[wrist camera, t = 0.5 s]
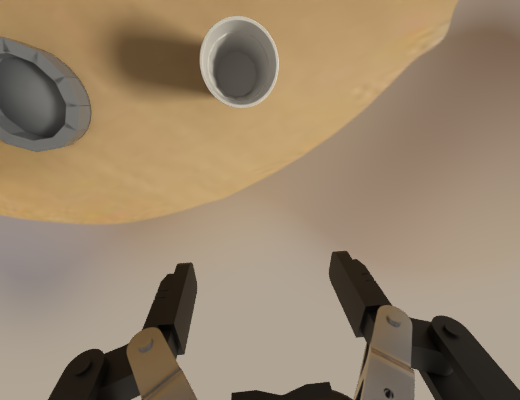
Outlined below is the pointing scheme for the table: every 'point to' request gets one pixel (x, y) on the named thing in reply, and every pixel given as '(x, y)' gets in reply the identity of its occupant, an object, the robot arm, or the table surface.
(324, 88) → the table surface
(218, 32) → the cup
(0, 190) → the table surface
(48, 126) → the dish
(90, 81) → the table surface
